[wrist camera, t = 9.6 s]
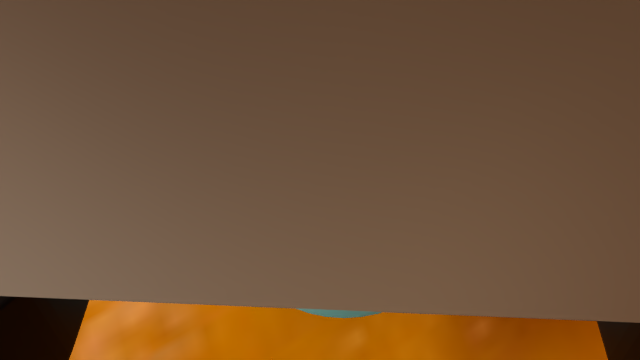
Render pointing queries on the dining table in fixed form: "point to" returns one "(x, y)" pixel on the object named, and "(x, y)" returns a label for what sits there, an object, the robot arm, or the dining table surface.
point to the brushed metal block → (324, 154)
